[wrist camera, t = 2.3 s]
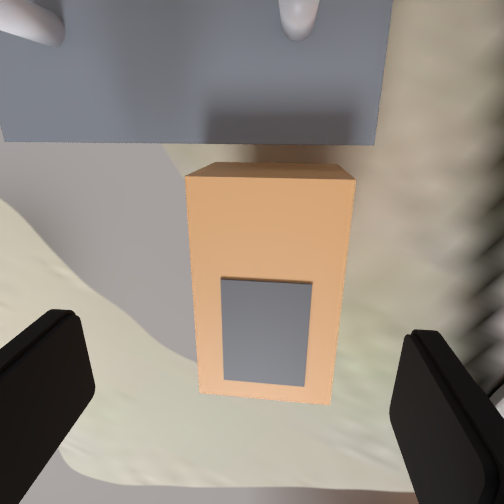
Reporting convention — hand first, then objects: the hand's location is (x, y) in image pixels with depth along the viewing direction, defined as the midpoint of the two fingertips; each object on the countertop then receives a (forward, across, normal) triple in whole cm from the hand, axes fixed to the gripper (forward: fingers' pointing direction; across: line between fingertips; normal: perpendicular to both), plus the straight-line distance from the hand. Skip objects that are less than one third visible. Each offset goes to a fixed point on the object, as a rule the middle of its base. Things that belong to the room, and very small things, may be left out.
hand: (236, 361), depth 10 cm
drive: (+9, -1, 0) cm, 9 cm away
